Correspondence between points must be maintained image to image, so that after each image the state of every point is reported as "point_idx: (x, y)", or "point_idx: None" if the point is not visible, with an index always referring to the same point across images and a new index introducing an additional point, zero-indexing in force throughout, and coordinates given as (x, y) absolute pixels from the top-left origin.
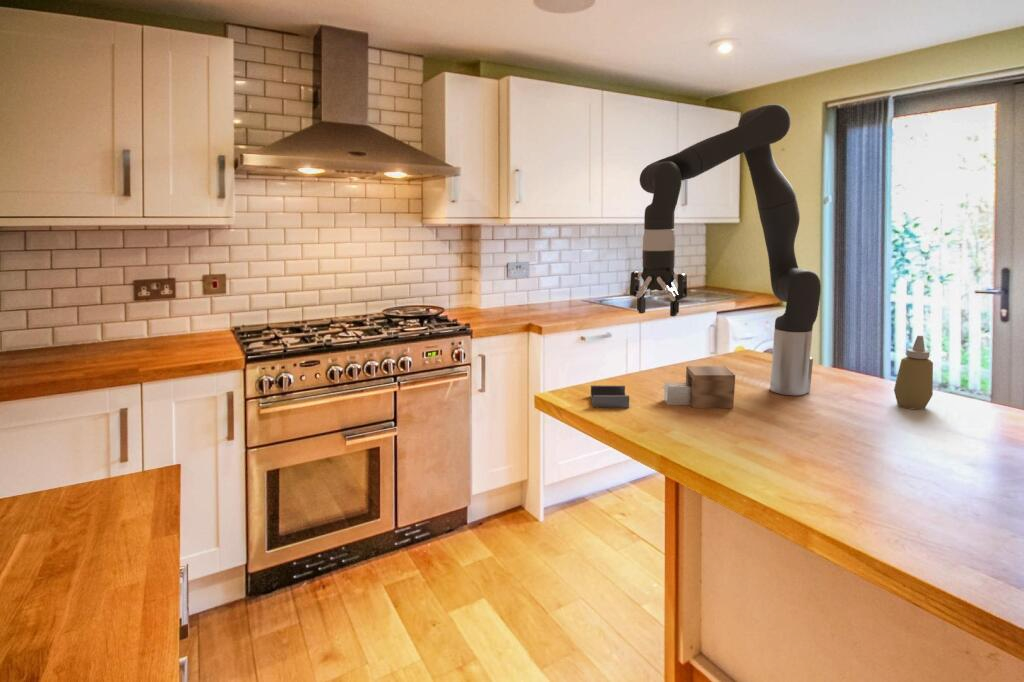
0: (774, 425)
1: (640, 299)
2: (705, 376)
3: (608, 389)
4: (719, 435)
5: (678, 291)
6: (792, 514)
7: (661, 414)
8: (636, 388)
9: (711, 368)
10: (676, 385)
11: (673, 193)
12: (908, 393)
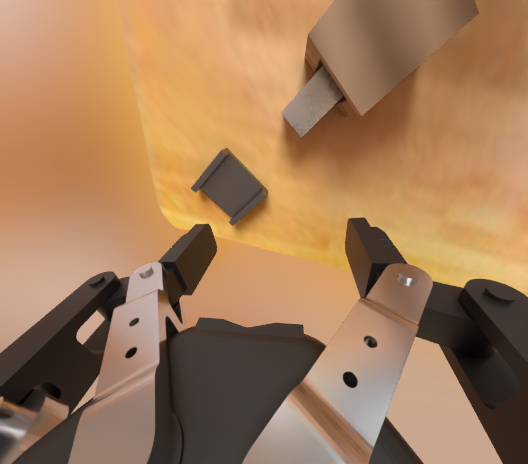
0: (516, 94)
1: (188, 293)
2: (386, 93)
3: (211, 173)
4: (417, 203)
5: (468, 387)
6: None
7: (316, 182)
8: (205, 85)
9: None
10: (310, 115)
11: None
12: None
